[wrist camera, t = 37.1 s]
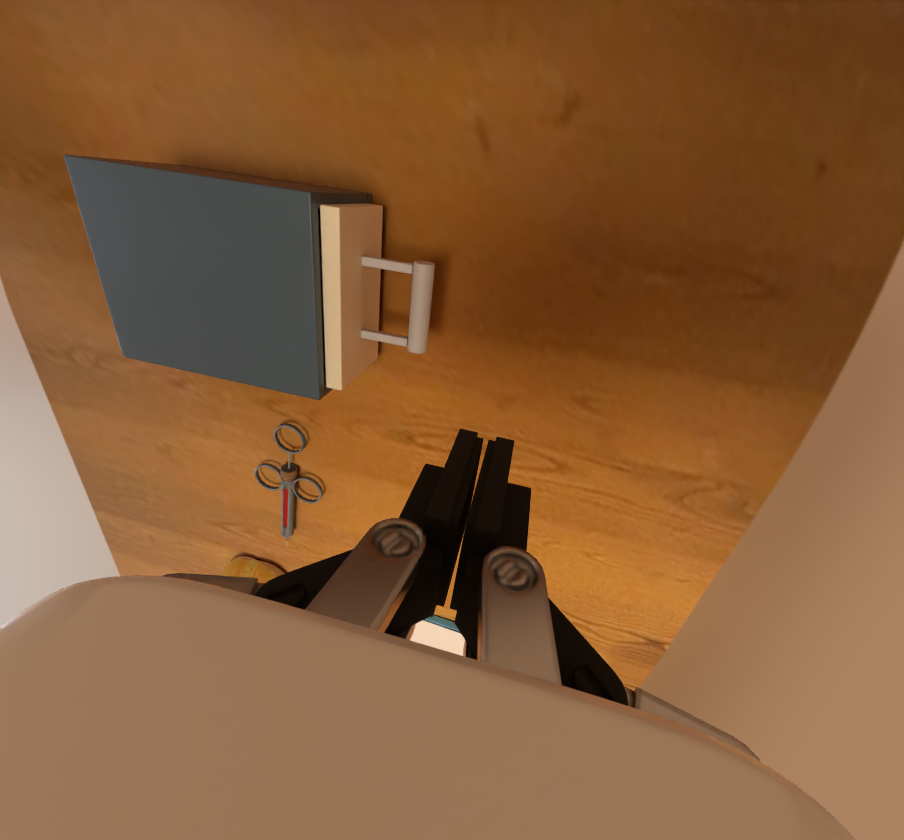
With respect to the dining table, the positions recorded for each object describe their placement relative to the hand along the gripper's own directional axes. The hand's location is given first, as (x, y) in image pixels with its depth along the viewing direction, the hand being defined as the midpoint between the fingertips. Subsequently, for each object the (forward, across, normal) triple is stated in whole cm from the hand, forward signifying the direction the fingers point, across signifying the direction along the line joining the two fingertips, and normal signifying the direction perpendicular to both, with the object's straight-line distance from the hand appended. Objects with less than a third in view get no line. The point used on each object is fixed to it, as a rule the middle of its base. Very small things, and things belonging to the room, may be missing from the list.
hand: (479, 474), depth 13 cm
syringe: (+21, +21, +23) cm, 38 cm away
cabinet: (+21, +20, 0) cm, 29 cm away
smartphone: (+21, -2, +42) cm, 47 cm away
